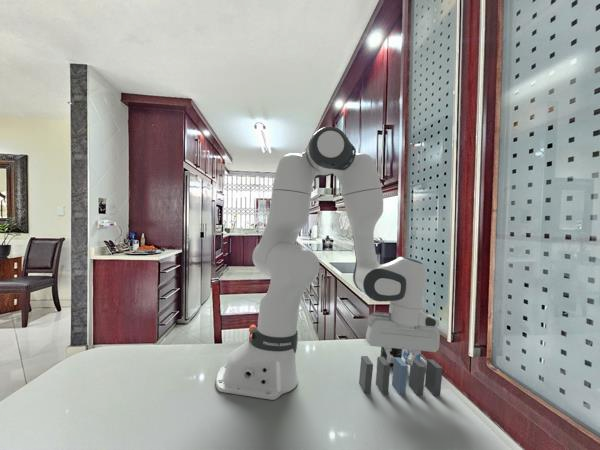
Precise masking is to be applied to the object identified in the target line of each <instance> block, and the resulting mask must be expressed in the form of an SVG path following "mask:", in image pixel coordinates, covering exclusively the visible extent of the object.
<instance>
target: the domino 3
mask: <svg viewBox="0 0 600 450" xmlns="http://www.w3.org/2000/svg"><path fill="white" fill-rule="evenodd" d="M408 369H409V365H407V364H406V363H405V360H403V359H402V357H401V358H398V357H394V367H392V377H391V378H392V379H391V385H392V387H393V388H394V389H395V391H396V393H397V394H398V395H404V396H405V395H406V393H407V392H406V391H407V381H408V380H407V379H408Z"/></svg>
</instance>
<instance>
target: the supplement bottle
mask: <svg viewBox="0 0 600 450" xmlns="http://www.w3.org/2000/svg"><path fill="white" fill-rule="evenodd" d="M389 352H390V354H391V355H392V356H393V357H398V358H401V359H402V357H403V355H402V349H397V348H392V350H391V351H389ZM379 357H384V358H385V359H386V360H387V354H386V352H385V349H384V347H380V356H379ZM389 364H390V368H393V367H394V364H393V363H389Z"/></svg>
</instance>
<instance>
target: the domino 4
mask: <svg viewBox="0 0 600 450" xmlns="http://www.w3.org/2000/svg"><path fill="white" fill-rule="evenodd" d="M426 367H427V366H425V365H424V364H423V363H422V362H421V360H420V361H419V360H418V359H414V360H413V365H409V376H408V387H410V389H411V390H412V392H413V393H414V394H415V395H416V397H417V396H418V397H419V396H421V397H422V396H424V389H425V388H424V387H425V378H426Z"/></svg>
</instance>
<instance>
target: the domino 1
mask: <svg viewBox="0 0 600 450" xmlns="http://www.w3.org/2000/svg"><path fill="white" fill-rule="evenodd" d="M373 370H374V363H373V362H372V361H371V359H370V358H369V356H368V355H361V357H360V369H359V379H358V384H359V386H360V388H361V391H362V392H363V394H371V391H372V384H373V383H372V382H373V381H372V380H373Z"/></svg>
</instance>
